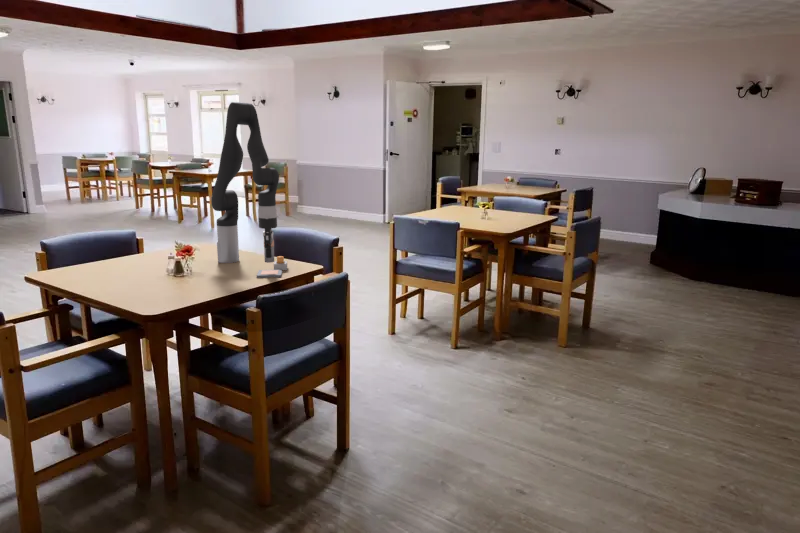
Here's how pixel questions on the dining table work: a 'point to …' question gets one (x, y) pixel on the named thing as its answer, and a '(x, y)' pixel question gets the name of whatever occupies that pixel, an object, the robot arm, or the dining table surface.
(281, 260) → the button
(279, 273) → the picture board
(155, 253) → the dining table surface
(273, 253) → the grey upright block
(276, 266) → the button housing
